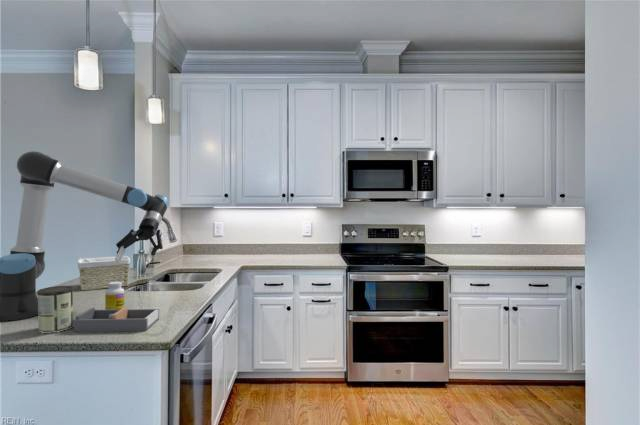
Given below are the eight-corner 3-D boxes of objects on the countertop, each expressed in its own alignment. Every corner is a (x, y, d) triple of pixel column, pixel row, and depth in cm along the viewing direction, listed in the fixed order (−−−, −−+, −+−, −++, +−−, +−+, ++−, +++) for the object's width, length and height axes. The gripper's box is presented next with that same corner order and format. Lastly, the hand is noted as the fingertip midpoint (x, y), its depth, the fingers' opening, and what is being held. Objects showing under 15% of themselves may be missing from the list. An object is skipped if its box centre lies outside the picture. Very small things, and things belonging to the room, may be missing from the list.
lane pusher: (103, 326, 135) (103, 315, 135) (115, 318, 145) (115, 307, 145) (115, 326, 136) (115, 315, 136) (127, 317, 146) (127, 307, 146)
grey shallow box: (74, 331, 133) (74, 317, 133) (93, 320, 146) (93, 307, 146) (146, 330, 135) (146, 316, 135) (159, 319, 148) (159, 306, 148)
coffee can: (50, 324, 141) (50, 285, 141) (79, 324, 141) (79, 285, 141) (30, 334, 131) (29, 292, 130) (61, 333, 131) (61, 292, 131)
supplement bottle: (116, 318, 149) (116, 284, 149) (101, 317, 150) (101, 284, 150) (128, 313, 156) (128, 281, 155) (113, 312, 157) (113, 280, 157)
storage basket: (77, 292, 192) (77, 262, 191) (78, 285, 206) (77, 257, 205) (131, 287, 204) (130, 258, 203) (128, 281, 218) (128, 255, 217)
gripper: (179, 228, 179) (163, 266, 165) (128, 228, 182) (108, 265, 167) (173, 217, 174) (157, 255, 159) (121, 217, 176) (99, 255, 162)
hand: (132, 261), depth 163 cm, fingers open, 13 cm apart
